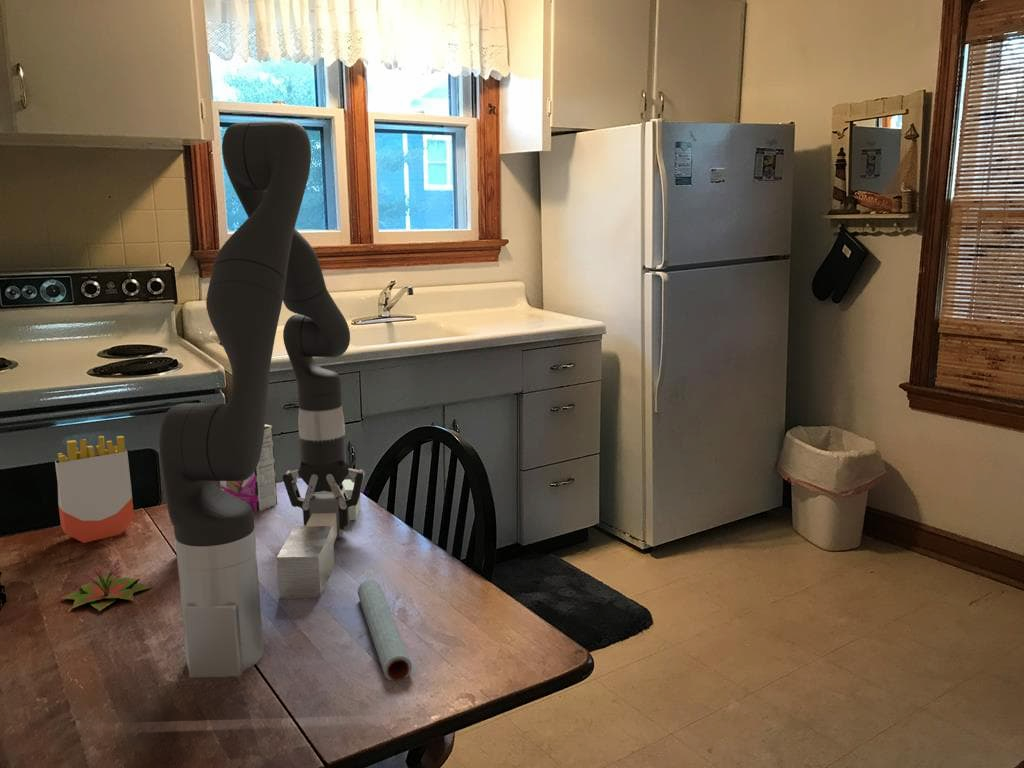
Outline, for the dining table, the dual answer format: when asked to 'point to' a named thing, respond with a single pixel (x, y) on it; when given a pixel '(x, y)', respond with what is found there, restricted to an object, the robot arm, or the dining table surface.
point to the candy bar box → (257, 479)
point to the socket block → (348, 489)
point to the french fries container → (94, 490)
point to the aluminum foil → (384, 631)
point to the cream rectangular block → (305, 562)
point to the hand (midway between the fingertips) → (327, 528)
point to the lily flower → (106, 590)
